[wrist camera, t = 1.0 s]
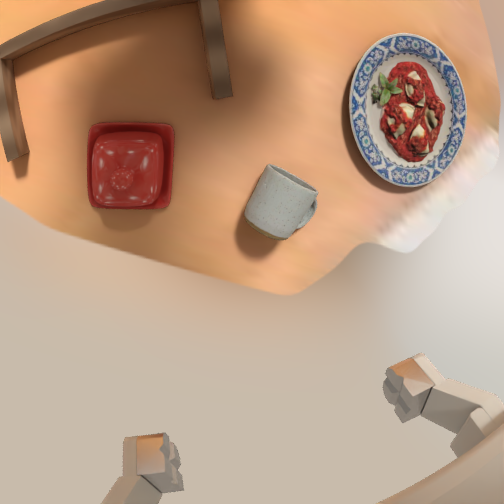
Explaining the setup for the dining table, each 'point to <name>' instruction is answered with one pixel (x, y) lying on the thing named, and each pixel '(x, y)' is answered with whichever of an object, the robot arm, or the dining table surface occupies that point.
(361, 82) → the ceramic plate
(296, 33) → the dining table surface
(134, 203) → the butter dish
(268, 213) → the ceramic mug
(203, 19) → the dock
